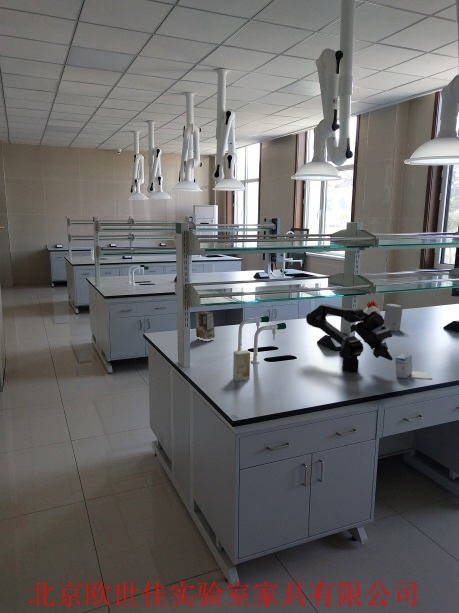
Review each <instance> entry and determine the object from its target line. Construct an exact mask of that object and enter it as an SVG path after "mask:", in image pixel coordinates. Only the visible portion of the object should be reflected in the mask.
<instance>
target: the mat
mask: <svg viewBox="0 0 459 613" xmlns="http://www.w3.org/2000/svg"><path fill="white" fill-rule="evenodd" d="M409 376H411V378H412V379H422V380H423V379H424V380H433V377H432V376H431V374H430V373H429V371H414V370H412V373H411V374H410V375H409Z"/></svg>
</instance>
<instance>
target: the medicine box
mask: <svg viewBox="0 0 459 613" xmlns="http://www.w3.org/2000/svg"><path fill="white" fill-rule="evenodd" d="M412 359H413V358H412V354H409V353H400V354H399V355H398V356H397V357H395V377H396V378H401V379H407V378H408V377H409V376H411V375H410V374H411V373H412V371H413V360H412Z"/></svg>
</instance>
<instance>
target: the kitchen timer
mask: <svg viewBox="0 0 459 613" xmlns="http://www.w3.org/2000/svg"><path fill="white" fill-rule="evenodd" d="M378 305H379V304H377V302H376V301H374V300H373V301H372V300H371V301H368V302H366V308H365V309H364V310H363V312H365V313H367V314H368V315H369V314H370V313H371V312H373V311H376V312H377V313H378V314H379V315H381V316H382V314H381V311H380V309H379V308H378ZM359 322H363V321H359Z"/></svg>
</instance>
